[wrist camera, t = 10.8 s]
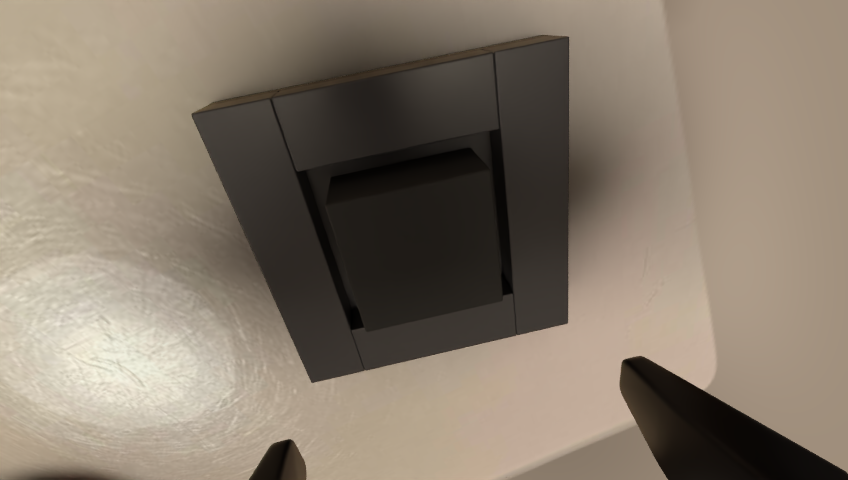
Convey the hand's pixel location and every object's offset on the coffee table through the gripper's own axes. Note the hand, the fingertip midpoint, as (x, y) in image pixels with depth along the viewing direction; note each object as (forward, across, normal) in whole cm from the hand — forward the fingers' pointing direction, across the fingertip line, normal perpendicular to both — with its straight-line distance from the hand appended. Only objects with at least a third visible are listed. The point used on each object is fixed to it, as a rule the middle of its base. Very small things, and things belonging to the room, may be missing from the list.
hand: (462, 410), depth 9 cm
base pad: (+10, 0, 0) cm, 10 cm away
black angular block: (+9, 0, 0) cm, 9 cm away
